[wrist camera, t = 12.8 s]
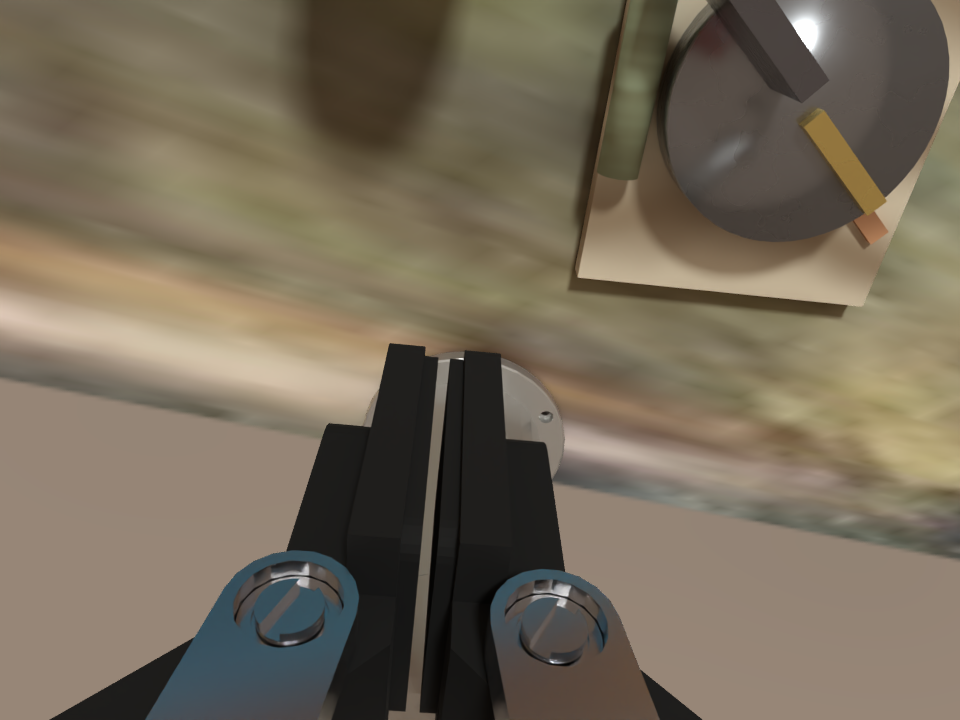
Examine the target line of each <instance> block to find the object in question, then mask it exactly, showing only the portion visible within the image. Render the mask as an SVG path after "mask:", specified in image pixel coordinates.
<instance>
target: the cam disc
mask: <svg viewBox="0 0 960 720" xmlns="http://www.w3.org/2000/svg"><path fill="white" fill-rule="evenodd" d="M706 1H707V2H708V4H707V5H706V6H705V7H704V8H703V9H702V10H701V11H700V12H699V13H698V14H697V16H696V17H695V18H694V20H693V21H692V22H691V24H690V25H689V26H688V28H687V29H686V30H685V32H684V33H683V35H682V37H681V38H680V40H679V42H678V43H677V45H676V47H675V49H674V51H673V53H672V55H671V58H670V60H669V62H668V64H667V67H666V70H665V73H664V76H663V79H662V82H661V87H660V92H659V97H658V104H657V117H656V119H657V136H658V141H659V146H660V151H661V154H662V157H663V160H664V163H665V166H666V168H667V170H668V172H669V174H670V175H671V177H672V179H673V181H674V182H675V183H676V185H677V186H678V188H679V189H680V190H681V192H682V193H683V194H684V195H685V196H686V197H687V198H688V200H689V201H690V202H691V203H692V204H693V205H694V206H695V208H696V209H697V210H698V211H699V212H700V213H701V214H702V215H703V216H704V217H706V218H707V219H708V220H710V221H711V222H712V223H714V224H715V225H716V226H718V227H720V228H722V229H724V230H726V231H728V232H729V233H732V234H735V235H738V236H741V237H743V238H748V239H752V240H757V241H767V242H787V241H796V240H802V239H808V238H811V237H815V236H818V235H822V234H825V233H827V232H830V231H832V230H835V229H837V228H840V227H842V226H844V225H846V224H848V223H849V222H851V221H853V220H855V219H857V218H858V217H860V216H861V215H863V214H865V215H867V216H868V215H870V214H871V213H872V212H874V211H875V210H876V209H878V208H879V207H880V206H882V205H883V204H884V203H886V202H887V200H886V199H885V197H887V196H888V195H889V194H890V193H891V192H892V191H893V190H894V189H895V188H896V187H897V186H898V185H899V184H900V183H901V182H902V181H903V179H904V178H905V177H906V176H907V174H908V173H909V172H910V171H911V170H912V168H913V167H914V166H915V164H916V163H917V161H918V160H919V158H920V157H921V155H922V154H923V152H924V151H925V149H926V147H927V145H928V143H929V141H930V140H931V138H932V136H933V134H934V132H935V129H936V127H937V124H938V122H939V119H940V117H941V114H942V110H943V106H944V103H945V99H946V95H947V88H948V81H949V50H948V42H947V37H946V34H945V30H944V27H943V23H942V21H941V18H940V16H939V14H938V12H937V10H936V8H935V6H934V4H933V3H932V1H931V0H706Z"/></svg>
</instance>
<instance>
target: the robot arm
mask: <svg viewBox="0 0 960 720" xmlns="http://www.w3.org/2000/svg"><path fill="white" fill-rule="evenodd" d="M544 411H545V412H544ZM564 441H565V437H564V430H563V423H562V419H561V415H560V411H559V408H558V406H557V404H556V402H555V400H554V399H553V397H552V395H551V393H550V392H549V391H548V390H547V388H546V387H545V386H544V385H543V384H542V383H541V381H540V380H539V379H537V378H536V377H535V376H533V375H532V374H531V373H530V372H528V371H527V370H526V369H524V368H522V367H520V366H518V365H517V364H515V363H513V362H511V361H509V360H506V359H503V358H501V354H498V353H487V352H477V351H466V350H465V352H447V353H442V354H437V355H432V356H425V347H424V346H413V345H403V344H392V343H390V344H389V348H388V352H387V357H386V361H385V366H384V370H383V375H382V379H381V384H380V388H379V390H378V391H377V393H376V394H375V396H374V397H373V398H372V401H371V403H370V406H369V408H368V410H367V413H366V417H365V422H364V426H353V425H342V424H330V423H329V424H328V425H327V426H326V429H325V431H324V434H323V437H322V440H321V444H320V447H319V450H318V453H317V456H316V459H315V463H314V466H313V469H312V472H311V475H310V478H309V482H308V485H307V488H306V491H305V494H304V497H303V500H302V503H301V507H300V510H299V513H298V516H297V519H296V522H295V525H294V529H293V532H292V535H291V538H290V541H289V544H288V548H287V551H286V552H279V553H273V554H270V555H268V556H265V557H263V558H260V559H258V560H255V561H253V562H252V563H250V564H249V565H247V566H246V567H245V568H243V569H242V570H240V571H239V572H237V573H236V574H235V576H234V577H233V578H232V579H231V581H230V582H229V583H228V584H227V585H226V586H225V588H224V589H223V591H222V593H221V594H220V596H219V598H218V599H217V601H216V603H215V604H214V606H213V608H212V609H211V611H210V613H209V614H208V616H207V618H206V619H205V621H204V623H203V624H202V626H201V628H200V629H199V631H198V633H197V634H196V636H195V637H194V638H192V639H191V640H189V641H187V642H185V643H184V644H182V645H180V646H178V647H177V648H175V649H173V650H171V651H170V652H168V653H166V654H164V655H162V656H161V657H159V658H157V659H155V660H154V661H152V662H150V663H148V664H147V665H145V666H143V667H141V668H140V669H138V670H136V671H135V672H133V673H131V674H129V675H127V676H126V677H124V678H122V679H120V680H119V681H117V682H115V683H113V684H112V685H110V686H108V687H106V688H105V689H103V690H101V691H99V692H98V693H96V694H94V695H92V696H90V697H89V698H87V699H85V700H84V701H82V702H80V703H79V704H77V705H75V706H73V707H71V708H69V709H68V710H66V711H64V712H63V713H61V714H59V715H57V716H55V717H54V718H52V719H50V720H702V719H701V718H700V717H698V716H697V715H696V714H695V713H694V712H692V711H691V710H690V709H689V708H687V707H686V706H685V705H684V704H682V703H681V702H680V701H679V700H677V699H676V698H675V697H674V696H672V695H671V694H670V693H669V692H667V691H666V690H665V689H664V688H662V687H661V686H660V685H659V684H658V683H656V682H655V681H654V680H652V679H651V678H650V677H649V676H648V675H646V674H645V673H644V672H643V671H641V670H640V668H639V665H638V663H637V660H636V658H635V655H634V653H633V650H632V647H631V645H630V642H629V640H628V637H627V635H626V632H625V629H624V627H623V624H622V622H621V619H620V617H619V615H618V613H617V612H616V610H615V608H614V606H613V605H612V603H611V601H610V600H609V599H608V598H607V597H606V596H605V595H604V594H603V593H602V592H601V591H600V590H599V589H598V588H597V587H596V586H594V585H592V584H590V583H589V582H587V581H586V580H584V579H582V578H581V577H579V576H575V575H573V574H570V573H566V572H565V568H564V561H563V554H562V547H561V540H560V533H559V527H558V519H557V512H556V505H555V499H554V491H553V484H552V478H553V477H554V475H555V474H556V472H557V470H558V468H559V465H560V462H561V459H562V456H563V452H564Z"/></svg>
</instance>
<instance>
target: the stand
mask: <svg viewBox="0 0 960 720" xmlns="http://www.w3.org/2000/svg"><path fill="white" fill-rule="evenodd" d="M931 1H932V3H933V4H934V6H935V8H936V10H937V12H938V14H939V16H940V18H941V21H942V23H943V27H944V30H945V34H946V37H947V42H948V50H949V81H948V88H947V95H946V99H945V103H944V106H943V110H942V114H941V117H940V119H939V122H938V124H937V127H936V129H935V132H934V134H933V136H932V138H931V140H930V141H929V143H928V145H927V147H926V149H925V151H924V152H923V154H922V155H921V157H920V158H919V160H918V161H917V163H916V164H915V166H914V167H913V168H912V170H911V171H910V172H909V173H908V174H907V176H906V177H905V178H904V179H903V181H902V182H901V183H900V184H899V185H898V186H897V187H896V188H895V189H894V190H893V191H892V192H891V193H890V194H889V195H888V196H887V197H885V199H886V200H887V202H886V203H884V204H883V205H882V206H880V207H879V208H878V209H876V210H875V211H874V212H872V213H871V214H870V215H868V216H867V215H865V214H863V215H861V216H860V217H858V218H857V219H855V220H853V221H851V222H849V223H848V224H846V225H844V226H842V227H840V228H837V229H835V230H832V231H830V232H827V233H825V234H822V235H818V236H815V237H811V238H808V239H802V240H796V241H787V242H767V241H757V240H752V239H748V238H743V237H741V236H738V235H735V234H732V233H729V232H728V231H726V230H724V229H722V228H720V227H718V226H716V225H715V224H714V223H712V222H711V221H710V220H708V219H707V218H706V217H704V216H703V215H702V214H701V213H700V212H699V211H698V210H697V209H696V208H695V206H694V205H693V204H692V203H691V202H690V201H689V200H688V198H687V197H686V196H685V195H684V194H683V193H682V192H681V190H680V189H679V188H678V186H677V185H676V183H675V182H674V181H673V179H672V177H671V175H670V174H669V172H668V170H667V168H666V166H665V163H664V160H663V157H662V154H661V151H660V146H659V141H658V136H657V119H656V117H657V104H658V97H659V92H660V87H661V82H662V79H663V76H664V73H665V70H666V67H667V64H668V62H669V60H670V58H671V55H672V53H673V51H674V49H675V47H676V45H677V43H678V42H679V40H680V38H681V37H682V35H683V33H684V32H685V30H686V29H687V28H688V26H689V25H690V24H691V22H692V21H693V20H694V18H695V17H696V16H697V14H698V13H699V12H700V11H701V10H702V9H703V8H704V7H705V6H706V5H707V4H708V2H707V1H706V0H627V2H626V8H625V13H624V18H623V23H622V28H621V33H620V39H619V44H618V49H617V54H616V59H615V64H614V70H613V75H612V80H611V85H610V90H609V95H608V101H607V106H606V111H605V116H604V121H603V126H602V132H601V137H600V142H599V147H598V152H597V157H596V163H595V168H594V173H593V178H592V183H591V188H590V193H589V199H588V204H587V209H586V214H585V219H584V224H583V230H582V235H581V240H580V245H579V250H578V255H577V261H576V266H575V271H576V274H577V277H578V278H587V279H597V280H607V281H617V282H627V283H636V284H646V285H656V286H666V287H676V288H686V289H695V290H705V291H715V292H725V293H735V294H745V295H754V296H764V297H774V298H784V299H794V300H804V301H813V302H823V303H833V304H843V305H853V306H863V304H864V302H865V299H866V297H867V295H868V292H869V290H870V288H871V285H872V283H873V281H874V278H875V276H876V274H877V271H878V269H879V267H880V265H881V262H882V260H883V258H884V255H885V253H886V251H887V248H888V246H889V244H890V241H891V239H892V237H893V234H894V232H895V230H896V227H897V225H898V223H899V220H900V218H901V216H902V213H903V211H904V209H905V206H906V204H907V202H908V199H909V197H910V195H911V192H912V190H913V188H914V185H915V183H916V181H917V178H918V176H919V174H920V172H921V169H922V167H923V165H924V162H925V160H926V158H927V155H928V153H929V151H930V148H931V146H932V144H933V141H934V139H935V137H936V134H937V132H938V130H939V127H940V125H941V123H942V120H943V118H944V116H945V113H946V111H947V109H948V106H949V104H950V102H951V99H952V97H953V95H954V92H955V90H956V88H957V85H958V83H959V81H960V0H931Z"/></svg>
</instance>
